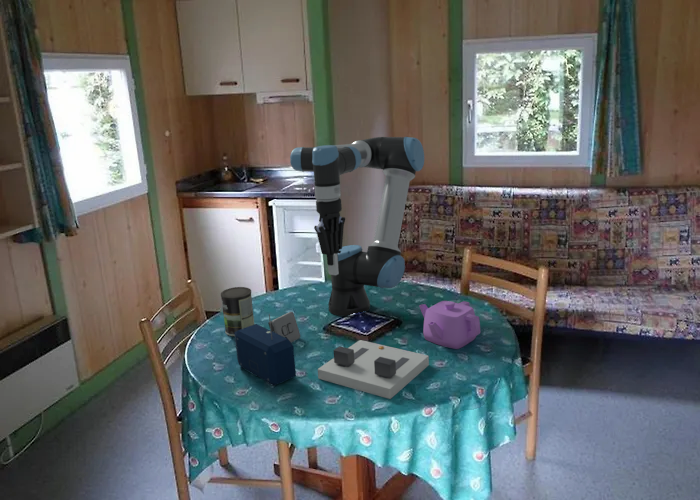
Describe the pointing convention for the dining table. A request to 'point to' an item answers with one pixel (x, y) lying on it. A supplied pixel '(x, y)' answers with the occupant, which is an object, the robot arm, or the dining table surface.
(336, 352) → the block
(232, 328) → the coffee can
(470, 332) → the teakettle
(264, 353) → the radio
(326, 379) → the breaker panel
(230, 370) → the dining table surface
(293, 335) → the electrical switch
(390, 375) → the block
